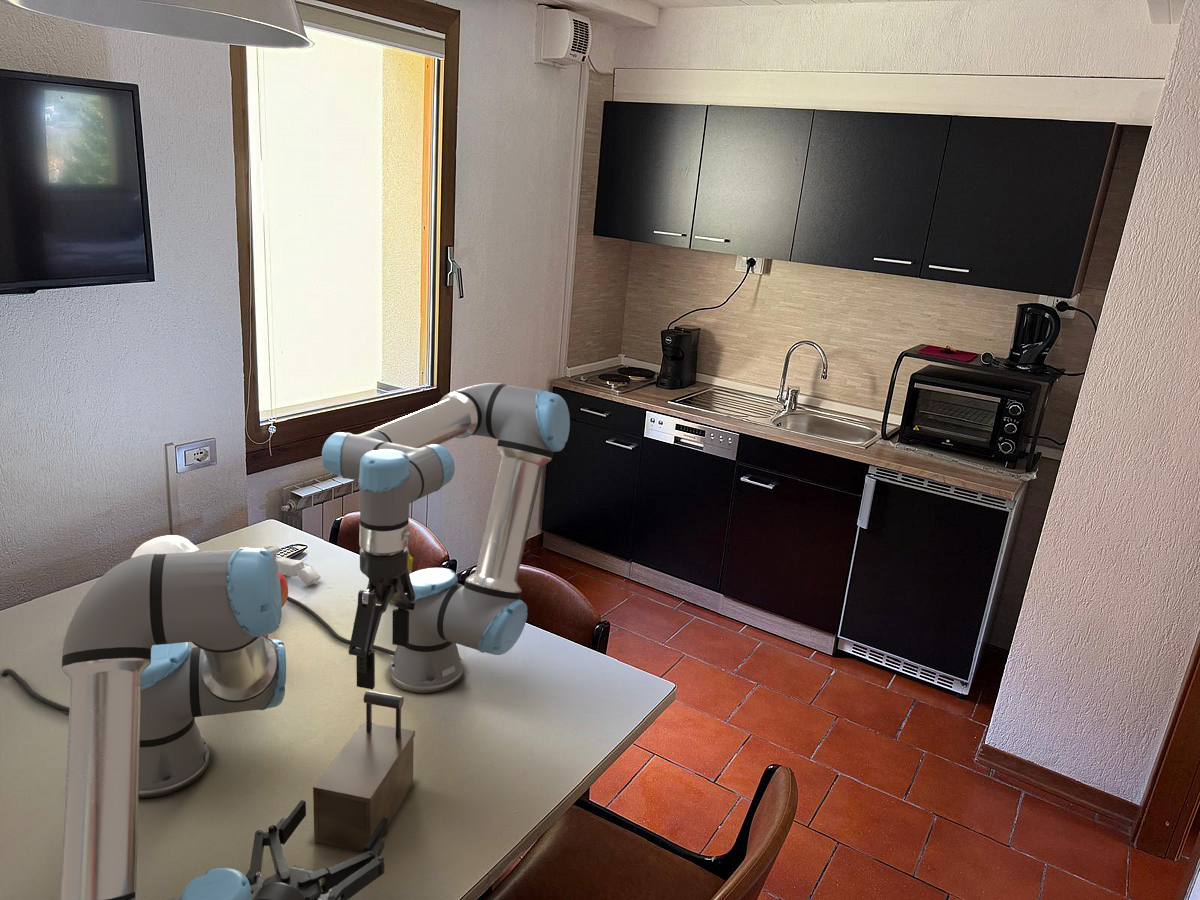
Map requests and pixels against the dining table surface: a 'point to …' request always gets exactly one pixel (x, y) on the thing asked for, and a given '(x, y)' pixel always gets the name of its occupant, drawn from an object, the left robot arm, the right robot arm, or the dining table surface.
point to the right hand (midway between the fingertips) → (383, 665)
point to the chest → (361, 809)
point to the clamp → (294, 567)
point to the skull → (166, 546)
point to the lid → (367, 754)
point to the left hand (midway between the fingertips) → (344, 815)
